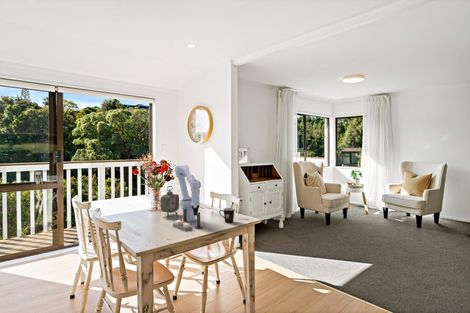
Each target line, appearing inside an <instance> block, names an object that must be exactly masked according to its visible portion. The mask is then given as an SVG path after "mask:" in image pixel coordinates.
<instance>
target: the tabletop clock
mask: <svg viewBox="0 0 470 313" xmlns="http://www.w3.org/2000/svg"><path fill="white" fill-rule="evenodd" d="M169 187H170V188H171V189H170V188H169ZM166 191H167V192H166V194H163V195H162V196H160V199H159V200H160V201H159V202H160V203H159V204H160V211H161V212H163V213H166V215H167V216H166V217H167V218H169V217H170V214H172V213H175V215H177V214H178V210H179V209H180V196H179V194H175V193H173V186H172V185H168V186H167V188H166Z"/></svg>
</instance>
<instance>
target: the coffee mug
mask: <svg viewBox="0 0 470 313" xmlns="http://www.w3.org/2000/svg"><path fill="white" fill-rule="evenodd" d="M221 212H223V215H224V216H223V215H222V213H221ZM218 213H219V214H220V216H221V217H222V218H223V219H224V223H226V224H232V223H234V218H235V208H233V207H224V208H223V209H220V210H219V212H218Z"/></svg>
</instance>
